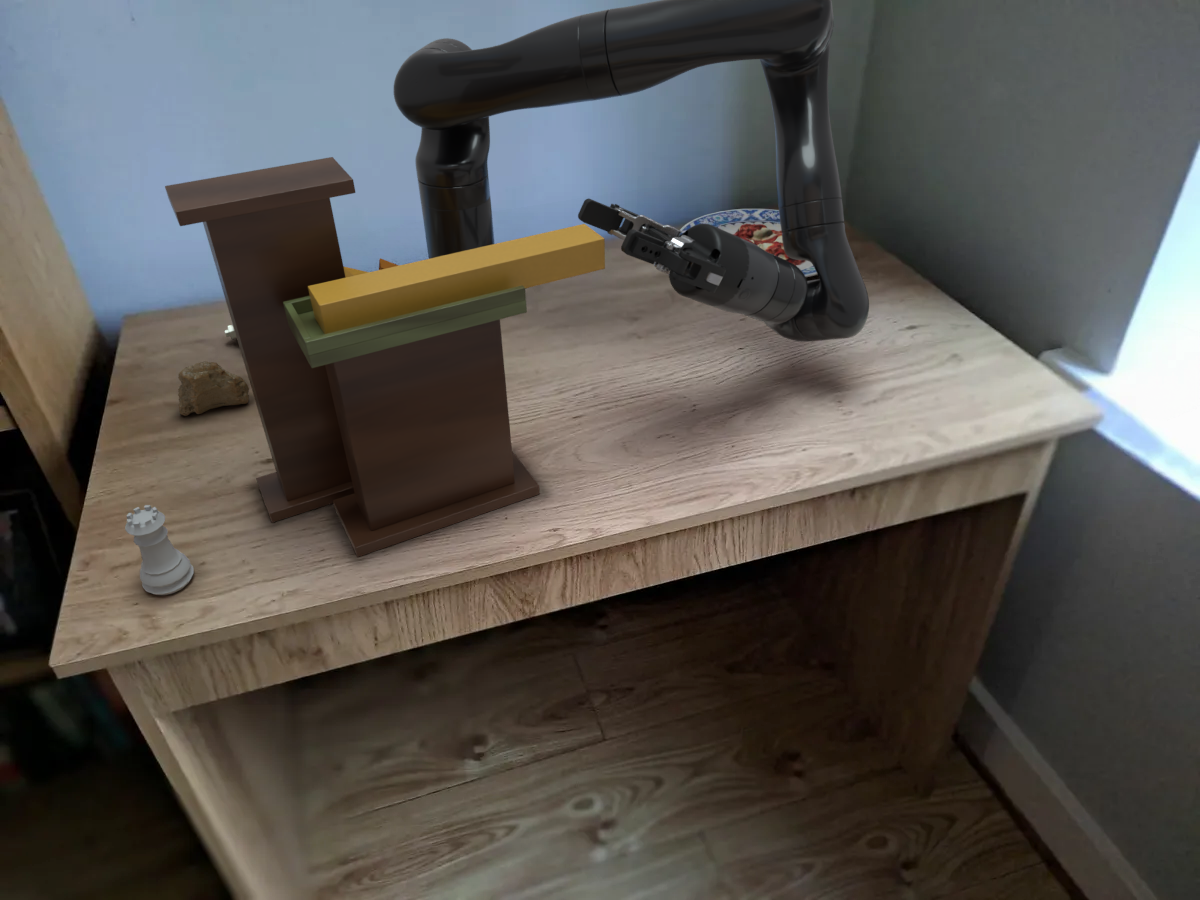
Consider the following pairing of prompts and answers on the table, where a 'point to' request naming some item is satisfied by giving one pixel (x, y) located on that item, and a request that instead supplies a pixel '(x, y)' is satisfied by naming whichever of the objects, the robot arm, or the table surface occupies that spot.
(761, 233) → the ceramic plate
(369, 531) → the walnut stand
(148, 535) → the rook chess piece
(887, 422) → the table surface
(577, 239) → the mustard block
